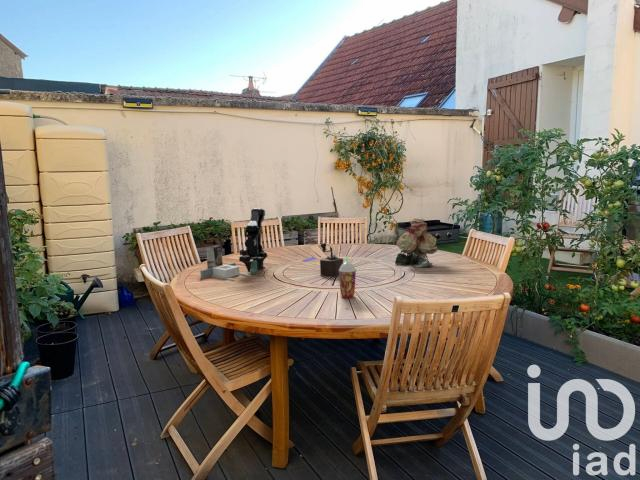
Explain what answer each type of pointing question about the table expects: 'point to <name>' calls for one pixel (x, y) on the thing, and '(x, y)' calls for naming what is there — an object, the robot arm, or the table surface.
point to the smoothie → (347, 279)
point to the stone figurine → (415, 245)
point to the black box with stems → (330, 264)
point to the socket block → (226, 271)
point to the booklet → (310, 259)
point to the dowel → (253, 267)
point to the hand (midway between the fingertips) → (254, 270)
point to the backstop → (209, 273)
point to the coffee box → (214, 256)
